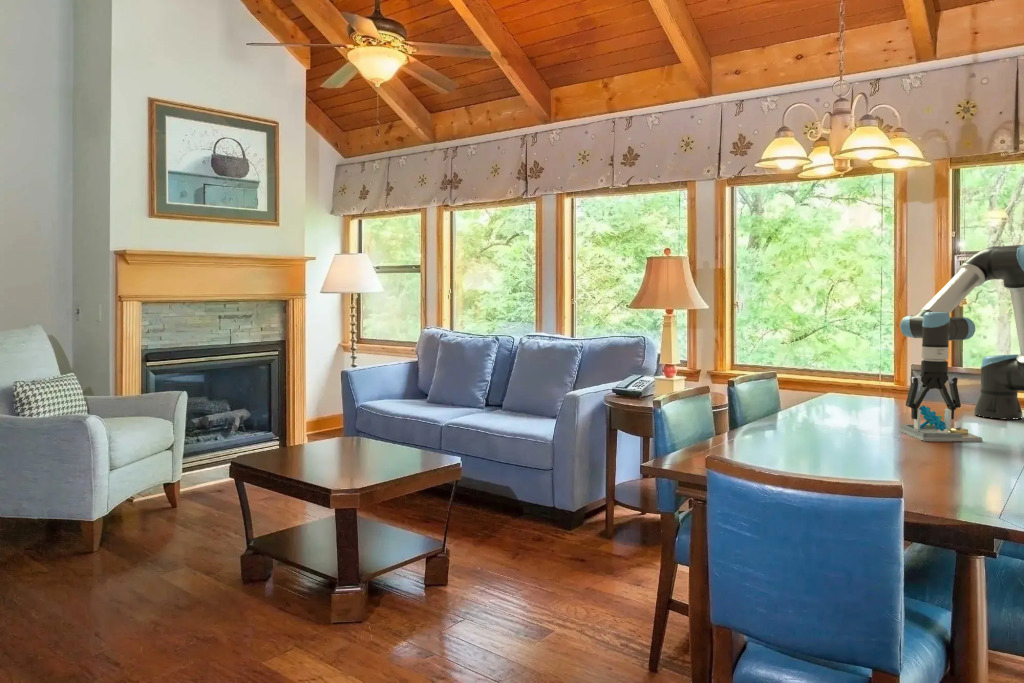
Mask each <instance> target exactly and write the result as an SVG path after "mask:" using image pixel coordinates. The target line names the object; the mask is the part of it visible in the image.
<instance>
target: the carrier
mask: <svg viewBox="0 0 1024 683" xmlns="http://www.w3.org/2000/svg"><path fill="white" fill-rule="evenodd" d="M928 425H929V424H927V425H926V426H924V427H923V428H920V430H917V429H914V424H910V423H909V424H907V423H905V424H903V423H901V424H900V425H899V426H900V427H899V432H900V431H901V432H900V433H902V432H903V434H905V433H906V434H905V435H907V434H908V436H909V435H910V436H909V437H912V436H913V437H912V438H914V437H915V439H916V438H918V439H917V440H919V439H920V440H919V441H921V440H923V441H922V442H952V441H962V443H963V442H964V443H965V442H967V443H969V442H971V443H972V442H973V443H974V442H976V443H978V442H977V441H982V442H983V437H981V436H978V435H975V434H972V433H969V429H967V428H962V427H961V426H955V427H951V430H947V429H945V430H943V431H941V430H940V429H938V430H937V429H936V428H935V425H934V424H933V425H932V426H931V427H929V426H928Z"/></svg>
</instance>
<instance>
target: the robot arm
mask: <svg viewBox="0 0 1024 683" xmlns="http://www.w3.org/2000/svg"><path fill="white" fill-rule="evenodd" d="M990 280H991V281H992V280H1003V282H1002V283H1003V286H1004V288H1005V289H1007V290H1009V291H1010V297H1011V303H1012V309H1013V316H1014V321H1015V328H1016V334H1017V339H1018V346H1019V351H1020V352H1019V354H1001V355H1000V354H999V355H996V354H995V355H986V356H984V357H983V358H982V359H981V365H980V369H981V370H980V372H981V373H980V392H979V393H980V394H979V397H978V400H977V401H976V404H975V406H974V410H973V415H974V414H975V415H974V416H976V415H980V416H984V417H992V418H1006V419H1013V418H1021V417H1022V418H1023V410H1022V407H1021V404H1020V401H1019V399H1018V392H1024V244H1017V245H1014V244H1013V245H999V246H998V245H997V246H990V247H987V248H985V249H982V250H980V251H978V252H976V253H974V254H973V255H971V256H970V257H969V258H967V259H966V260H965V261H964V262H963V263H962V264H961V265H959V267H958V268H957V269H956V273H955V274H954V276H953V277H951V279H950V280H948V282H947V283H946V284H945V285H944V286H943V287H942V288H941V289H940V290H939V291H938V292H937V293H936V294H935V295H934V296H933V297H932V298H931V299H930V300H928V302H927V303H926V304H925V305H924V306H923V307H922V308H921V309H920V310H919V311H918V312H917V313H916V314H915V315H912V314H911V315H906V316H904V317H903V318H902V319H901V320H900V324H899V328H900V331H901V334H902V335H903V336H904V337H906V338H911V339H912V338H913V339H922V343H921V359H923V360H921V362H920V374H919V376H916V377H915V376H911V377H910V386H909V390H908V394H907V397H906V401H905V407H907V408H910V410H911V415H910V416H911V419H912V420H913V425H914V429H917V430H920V425H921V415H922V414H921V410H920V409H919V408H920V407H921V404H922V403H923V400H924V399H925V397H926V396H927V394H928V392H929V391H930V390H934V389H936V390H938V391H939V393H940V395H941V397H942V399H943V402H944V403H945V405H946V407H947V408H944V421H943V422H944V423H945V425H944V426H945V427H946V428H945V429H947V430H951V428H952V420H954V418H955V410H957V409H959V408H961V407H962V404H961V400H960V394H959V388H958V377H955V376H948V370H949V369H948V368H949V362H948V359H949V345H950V344H949V342H950V341H953V342H954V341H962V342H963V341H964V340H965V341H967V340H970V339H971V338H972V337H973V336H974V335H975V333H976V325H975V322H974V320H972V319H970V318H969V317H965V316H957V317H956V316H955V317H951V315H950V313H952V312H953V310H955V308H957V307H958V305H960V304H961V302H962V301H964V299H965V298H966V297H967V296H968V295H969V294H971V292H973V290H974V289H975V288H976V287H980V286H982V285H983V284H984V283H985V282H987V281H990ZM920 382H921V383H922V384H921V385H920V389H919V388H918V387H919V384H920ZM947 382H948V384H949V385H948V386H949V391H950V394H949V392H948V388H947V386H946V383H947ZM918 389H919V390H918ZM917 391H918V393H917ZM950 395H951V396H950ZM984 417H983V418H984Z"/></svg>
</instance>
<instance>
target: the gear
mask: <svg viewBox="0 0 1024 683" xmlns="http://www.w3.org/2000/svg"><path fill="white" fill-rule="evenodd" d="M918 409H920V410H921V415H922V416H923V419H924V422H923V423H920V428H923V427H924V426H926V425H928V426H929V427H931V426H932V425H935V428H936V429H937V430H938V429H940V430H941V431H943V430H945V428H946V427H945V426H944V425H945V423H944V421H943V420H942V418H943V416H942V415H939V414H938V415H937V412H936V411H935V410H932V411H931V408H930V406H925V405H924V404H922V405H920V406H919V408H918Z"/></svg>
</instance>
